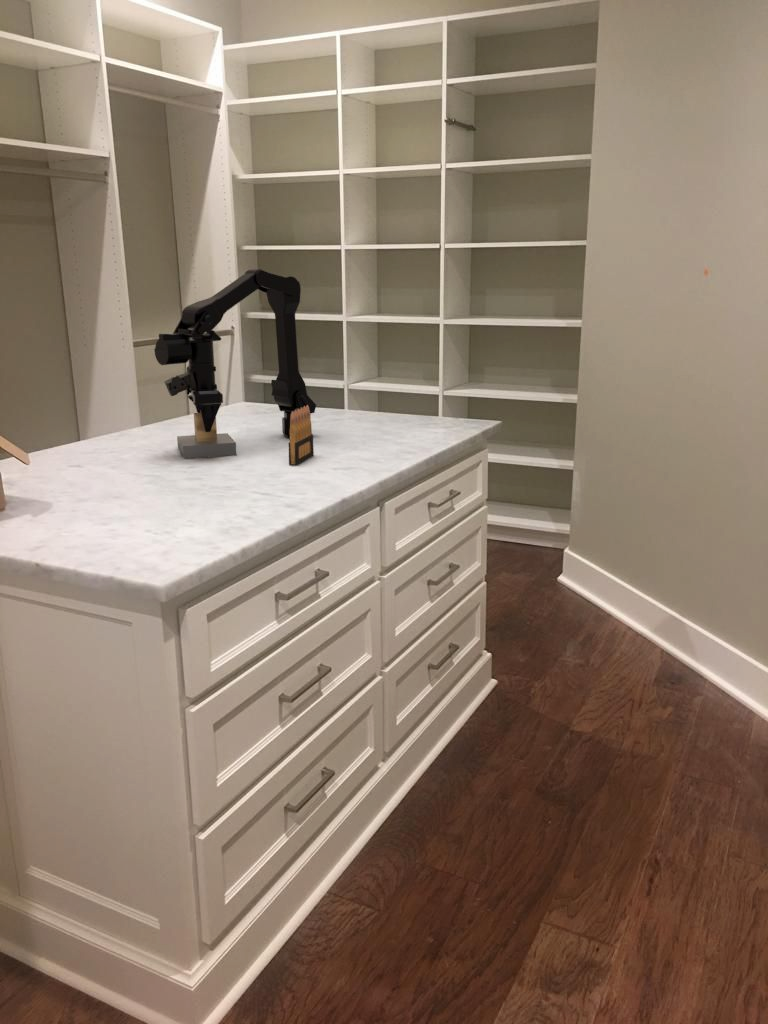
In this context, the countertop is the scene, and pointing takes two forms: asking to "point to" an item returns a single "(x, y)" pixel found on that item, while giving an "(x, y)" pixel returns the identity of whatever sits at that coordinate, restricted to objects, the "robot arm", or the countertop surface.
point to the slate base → (206, 447)
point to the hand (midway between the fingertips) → (205, 428)
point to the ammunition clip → (300, 436)
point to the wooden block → (200, 430)
